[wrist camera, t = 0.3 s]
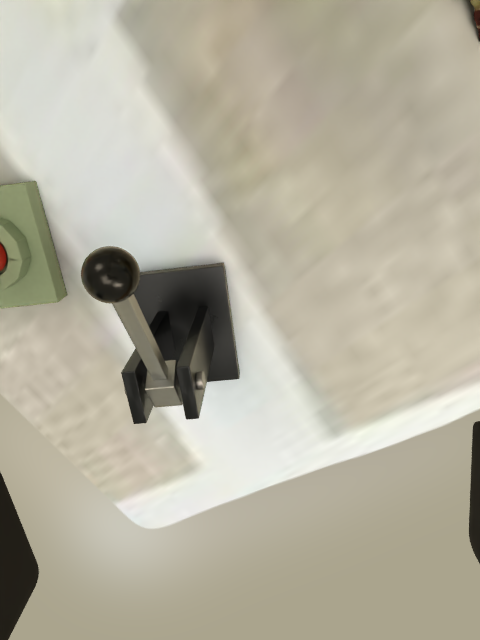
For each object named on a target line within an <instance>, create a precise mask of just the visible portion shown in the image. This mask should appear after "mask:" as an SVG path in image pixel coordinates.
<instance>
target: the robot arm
mask: <svg viewBox="0 0 480 640" xmlns="http://www.w3.org/2000/svg"><path fill="white" fill-rule="evenodd" d="M472 440H473V441H472V465H471V490H470V516H469V537H470V542H471V546H472V548H473V551H474V554H475V556H476V557H477V559H478V561H479V563H480V421H478V422H475V423H474V425H473V439H472ZM38 574H39V571H38V564H37V562H36V559H35V557H34V554H33V552H32V549H31V547H30V544H29V542H28V539H27V537H26V534H25V532H24V529H23V527H22V524H21V522H20V519H19V517H18V514H17V512H16V509H15V507H14V504H13V502H12V499H11V497H10V494H9V492H8V489H7V487H6V485H5V482H4V479H3V477H2V474H1V473H0V640H8V639H9V637H10V635H11V633H12V631H13V629H14V627H15V625H16V623H17V621H18V619H19V617H20V615H21V613H22V611H23V609H24V608H25V605H26V604H27V602H28V599H29V598H30V596H31V594H32V592H33V590H34V588H35V586H36V583H37V580H38Z"/></svg>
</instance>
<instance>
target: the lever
mask: <svg viewBox="0 0 480 640" xmlns="http://www.w3.org/2000/svg"><path fill="white" fill-rule="evenodd" d="M81 278H82V282H83V285H84V287H85V289H86V290H87V292H88V293H89V294H90V295H91V296H92V297H93V298H95V299H97V300H99V301H101V302H104V303H112V304H113V306H114V308H115V310H116V312H117V314H118V316H119V317H120V319H121V321H122V323H123V325H124V327H125V329H126V331H127V332H128V334H129V336H130V338H131V340H132V342H133V344H134V346H135V347H136V349H137V351H138V353H139V355H140V357H141V359H142V361H143V362H144V364H145V366H146V368H147V376H146V384H145V391H146V392H147V394H148V396H149V397H150V399H151V401H152V403H153V404H154V406H155V407H165V406H177V405H182V404H183V401H182V396H181V391H180V386H179V381H178V376H177V371H176V366H177V361H176V360H169V361H165V360H164V358H163V356H162V354H161V352H160V350H159V348H158V345H157V343H156V341H155V339H154V337H153V335H152V332H151V330H150V328H149V326H148V324H147V322H146V320H145V317H144V315H143V313H142V311H141V309H140V307H139V305H138V302H137V300H136V298H135V296H134V292H135V291H136V289H137V287H138V285H139V282H140V269H139V266H138V263H137V262H136V260H135V258H134V257H133V256H132V255H131V254H130V253H129V252H127V251H126V250H124V249H122V248H119V247H114V246H106V247H101V248H99V249H96V250H95V251H93V252H92V253H90V254H89V255H88V257H87V258H86V259H85V261H84V263H83V266H82V270H81Z"/></svg>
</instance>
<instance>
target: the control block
mask: <svg viewBox="0 0 480 640" xmlns="http://www.w3.org/2000/svg"><path fill="white" fill-rule="evenodd" d="M0 244H1V245H2V246H3V248H4V250H5V253H6V264H5V267H4V268H3V270H2V271H0V309H1V308H10V307H19V306H28V305H37V304H46V303H56V302H59V301H60V300H62V299H63V298H64V297H65V296H67V293H66V289H65V285H64V282H63V278H62V275H61V271H60V267H59V264H58V260H57V256H56V253H55V249H54V245H53V242H52V238H51V235H50V231H49V227H48V224H47V220H46V216H45V213H44V209H43V205H42V202H41V198H40V194H39V191H38V187H37V184H36V181H32V182H24V183H17V184H9V185H1V186H0Z"/></svg>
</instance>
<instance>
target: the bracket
mask: <svg viewBox="0 0 480 640" xmlns="http://www.w3.org/2000/svg"><path fill="white" fill-rule="evenodd" d="M134 296H135V298H136V300H137V302H138V305H139V307H140V309H141V311H142V313H143V315H144V317H145V320H146V322H147V324H148V326H149V328H150V330H151V332H152V335H153V337H154V339H155V341H156V343H157V345H158V348H159V350H160V352H161V354H162V356H163V358H164V360H165V361H169V360H176V361H177V366H176V371H177V376H178V381H179V386H180V391H181V396H182V401H183V406H184V411H185V416H186V419H197V418H199V415H200V411H201V406H202V401H203V397H204V392H205V388H206V383H207V382H210V381H220V380H231V379H239V375H240V372H239V365H238V358H237V351H236V344H235V337H234V330H233V323H232V316H231V309H230V301H229V294H228V287H227V280H226V273H225V266H224V263H217V264H209V265H200V266H191V267H182V268H173V269H164V270H155V271H147V272H140V282H139V285H138V287H137V289H136V291H135V292H134ZM121 373H122V378H123V382H124V386H125V393H126V395H127V398H128V402H129V406H130V410H131V414H132V418H133V422H134V424H139V423H147V420H148V418H149V415H150V413H151V410H152V408H153V405H154V404H153V403H152V401H151V399H150V397H149V396H148V394H147V392H146V391H145V384H146V376H147V368H146V366H145V364H144V362H143V361H142V359H141V357H140V355H139V353H138V351H137V349H135V351H134V352H133V354H132V356H131V357H130V359H129V361H128V362H127V364H126V366H125V367H124V369H123V371H122V372H121Z"/></svg>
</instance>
